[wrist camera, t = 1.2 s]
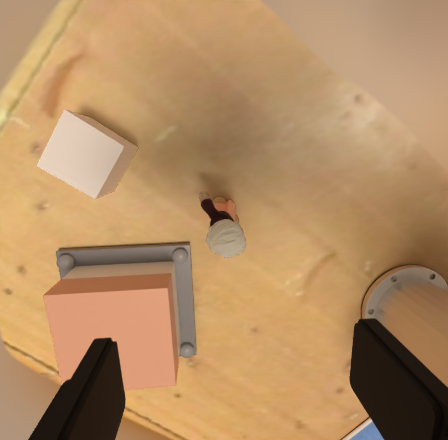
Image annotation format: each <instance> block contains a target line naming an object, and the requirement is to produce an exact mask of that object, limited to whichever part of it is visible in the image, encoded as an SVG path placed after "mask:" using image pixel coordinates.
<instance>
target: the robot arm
mask: <svg viewBox="0 0 448 440" xmlns="http://www.w3.org/2000/svg"><path fill="white" fill-rule="evenodd" d="M350 384H351V387H352V389H353V391H354V393H355V394H356V396H357V397H358V399H359V401H360V402H361V404H362V405H363V407H364V409H365V410H366V412H367V413H368V415H369V416H370V418H371V420H372V421H373V423H374V424H375V426H376V428H377V429H378V431H379V432H380V434H381V436H382V437H383V439H384V440H448V285H447V283H446V281H445V280H444V278H443V277H442V276H440V275H439V274H438V273H437V272H435V271H433V270H431V269H429V268H426V267H424V266H419V265H406V266H401V267H397V268H395V269H393V270H390V271H388V272H387V273H385V274H384V275H382V276H381V277H380V278H379V279H378V280H376V281H375V282H374V284H373V285H372V286H371V287H370V289H369V290H368V292H367V294H366V296H365V298H364V301H363V305H362V319H360V320H359V321H358V323H356V324H355V326H354V337H353V347H352V358H351V369H350ZM124 409H125V392H124V386H123V379H122V372H121V365H120V359H119V352H118V345H117V342H116V341H112V338H96V339H94V340H93V342H92V343H91V345H90V347H89V348H88V350H87V352H86V354H85V355H84V357H83V359H82V360H81V362H80V364H79V365H78V367H77V369H76V370H75V372H74V374H73V375H72V377H71V379H68V380H66V381H65V382H64V383H63V384H62V386H61V387H60V389H59V391H58V392H57V394H56V395H55V397H54V399H53V400H52V402H51V404H50V405H49V407H48V408H47V410H46V412H45V413H44V415H43V417H42V418H41V420H40V421H39V423H38V425H37V427H36V428H35V430H34V431H33V433H32V435H31V436H30V438H29V439H28V440H115V438H116V435H117V431H118V428H119V425H120V422H121V418H122V415H123V412H124Z"/></svg>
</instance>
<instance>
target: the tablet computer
mask: <svg viewBox="0 0 448 440" xmlns="http://www.w3.org/2000/svg"><path fill="white" fill-rule="evenodd" d="M342 440H384V439H383V437H382V436H381V434H380V432H379V431H378V429H377V428H376V426H375V424H374V423H373V421H372V420H371V418H369V419H367V420H366V421H365V422H364V423H362V424H361V425H360V426H358V427H357V428H356V429H355V430H353V431H352V432H351V433H349V434H348V435H347V436H346V437H344V438H343V439H342Z"/></svg>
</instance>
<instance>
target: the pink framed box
mask: <svg viewBox="0 0 448 440" xmlns="http://www.w3.org/2000/svg"><path fill="white" fill-rule="evenodd" d="M56 256H57V266H58V267H59V272H60V277H61V280H60V281H59V282H58V283H57V284H55V285H54V286H53V287H52V288H51V289H50V290H49V291H48V292H46V293H45V294H44V295H43V297H44V302H45V307H46V312H47V317H48V321H49V326H50V331H51V336H52V341H53V346H54V350H55V355H56V360H57V365H58V370H59V374H60V379H61V384H63V383H64V382H65V381H66V380H68V379H71V377H72V375H73V374H74V372H75V370H76V369H77V367H78V365H79V364H80V362H81V360H82V359H83V357H84V355H85V354H86V352H87V350H88V348H89V347H90V345H91V343H92V342H93V340H94V339H96V338H112V341H116V342H117V345H118V352H119V359H120V365H121V372H122V379H123V386H124V391H125V390H137V389H149V388H161V387H173V386H176V381H177V372H178V363H179V356H182V357H184V358H189V357H191V356H192V355H196V334H195V317H194V300H193V283H192V266H191V249H190V243H172V244H151V245H131V246H110V247H90V248H69V249H59V250H58V251H56Z"/></svg>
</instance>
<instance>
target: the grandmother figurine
mask: <svg viewBox="0 0 448 440" xmlns="http://www.w3.org/2000/svg"><path fill="white" fill-rule="evenodd" d="M199 199H200V201H201V206H202V208H203V210H204V211H205V212H206V213H207V214H208V215H209V217H210V218H211V222H210V226H209V232H208V234H207V239H206V242H207V244H208V246H209V248H210V250H211V251H212V252H213V253H215V254H218V255H220V256H223V257H226V258H230V257H233V256H236V255H239V254H240V253H242V252H243V251H244V250H245V248H246V239H245V236H244V233H243V230H242V228H241V226H240V225H239V224H238V223H239V219H238V216H237V215H236V214H235V205H234V203H233V201H231V200H228V202H227V201H226V200H225V199H224V198H223V197H216V198H215V199H214V200H213V201H212V200H211V199H210V198H209V195H208V193H206V192H202V193H200V195H199Z"/></svg>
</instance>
